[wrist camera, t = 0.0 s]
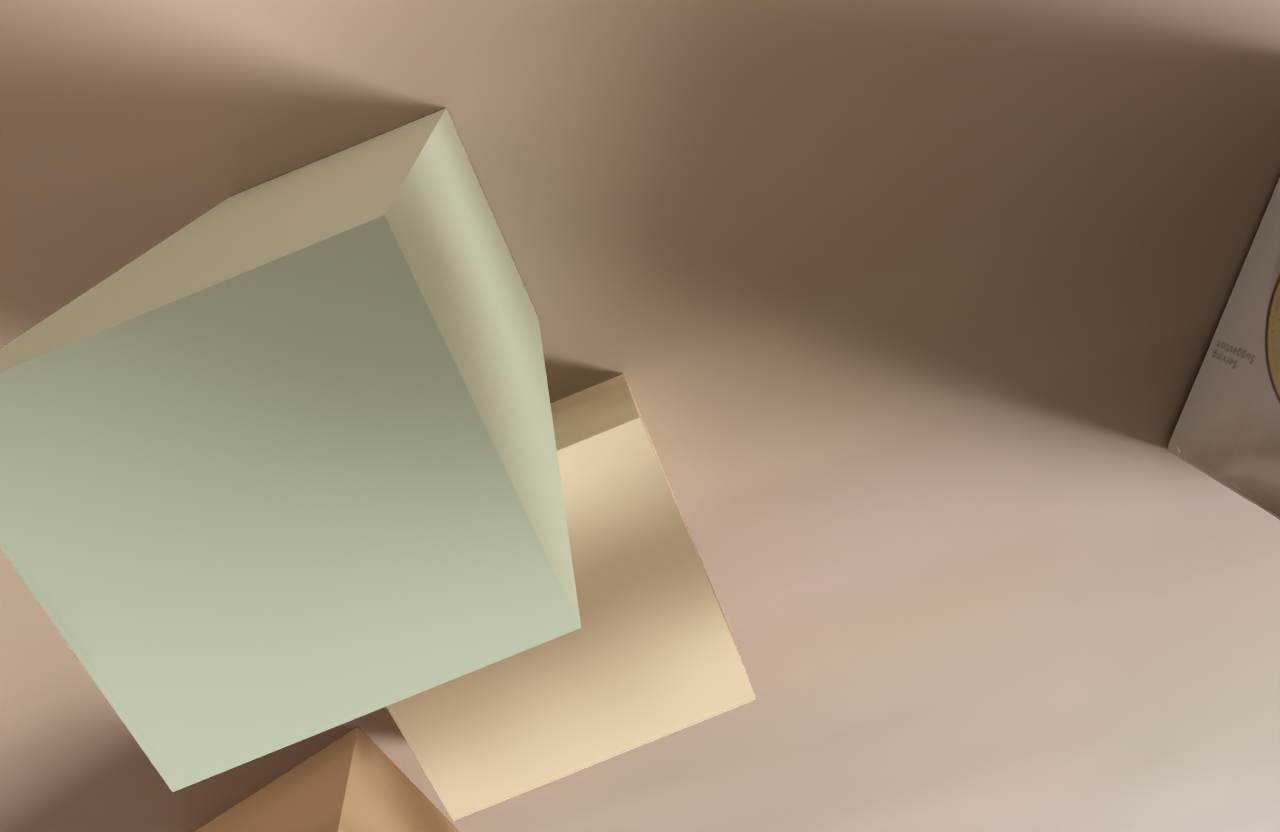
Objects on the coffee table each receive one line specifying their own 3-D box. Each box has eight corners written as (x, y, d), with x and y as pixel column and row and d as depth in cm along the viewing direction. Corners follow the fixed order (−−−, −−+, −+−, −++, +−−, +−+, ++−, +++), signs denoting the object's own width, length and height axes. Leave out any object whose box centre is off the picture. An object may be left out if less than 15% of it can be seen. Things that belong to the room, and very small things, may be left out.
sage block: (538, 318, 22) (580, 628, 11) (336, 400, 22) (171, 792, 11) (446, 107, 20) (384, 214, 9) (228, 197, 20) (-97, 411, 9)
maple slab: (728, 625, 26) (756, 699, 23) (458, 733, 26) (453, 821, 23) (621, 368, 23) (639, 417, 20) (322, 491, 23) (297, 556, 20)
